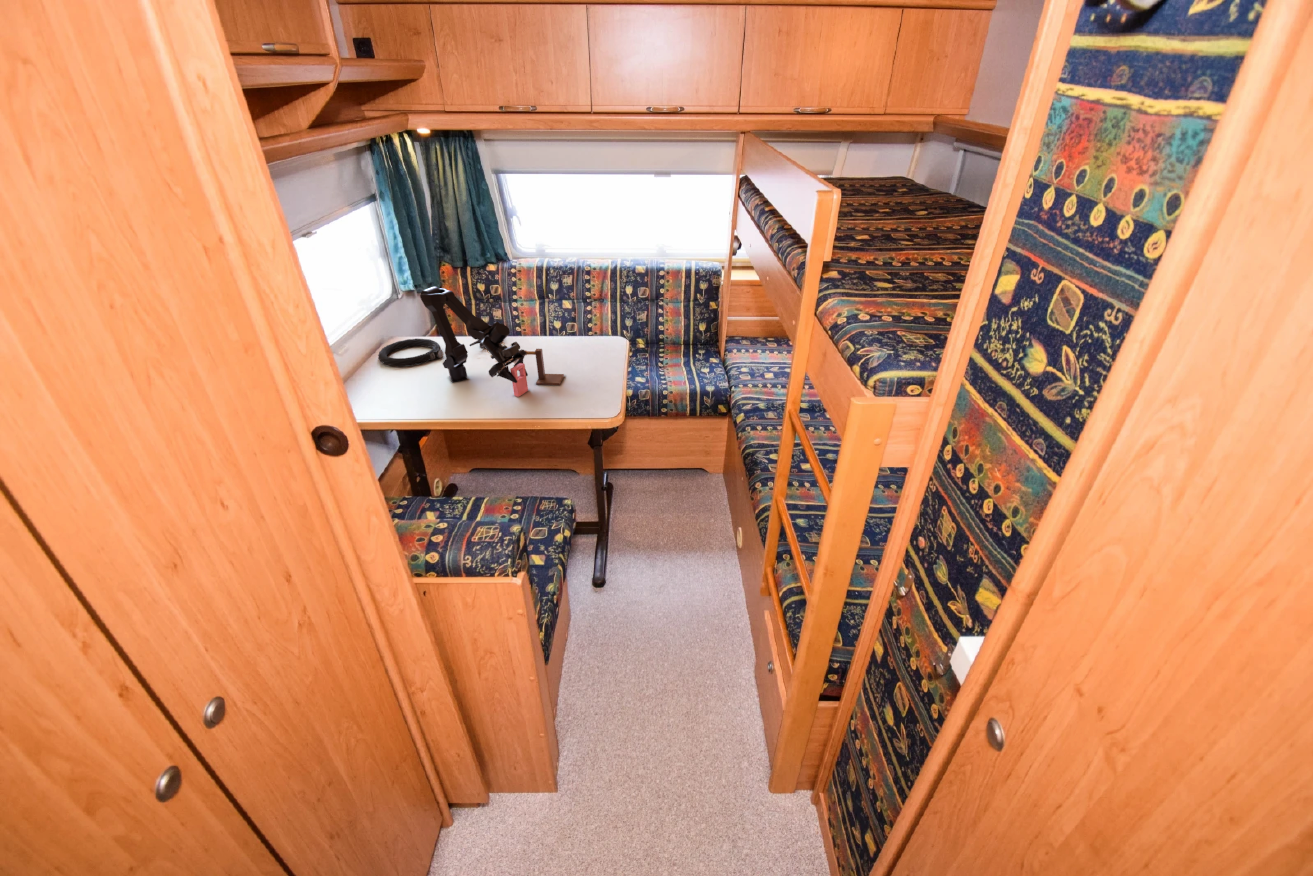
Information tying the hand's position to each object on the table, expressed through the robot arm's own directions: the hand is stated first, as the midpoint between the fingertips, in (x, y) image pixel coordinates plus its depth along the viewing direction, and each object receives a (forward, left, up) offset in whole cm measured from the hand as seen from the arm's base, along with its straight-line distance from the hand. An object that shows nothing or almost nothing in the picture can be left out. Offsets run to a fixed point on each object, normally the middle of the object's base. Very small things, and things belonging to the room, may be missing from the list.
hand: (521, 379), depth 235 cm
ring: (-33, +65, -7) cm, 73 cm away
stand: (+11, +8, -7) cm, 15 cm away
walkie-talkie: (0, +59, -7) cm, 59 cm away
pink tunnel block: (-1, +1, -7) cm, 7 cm away
